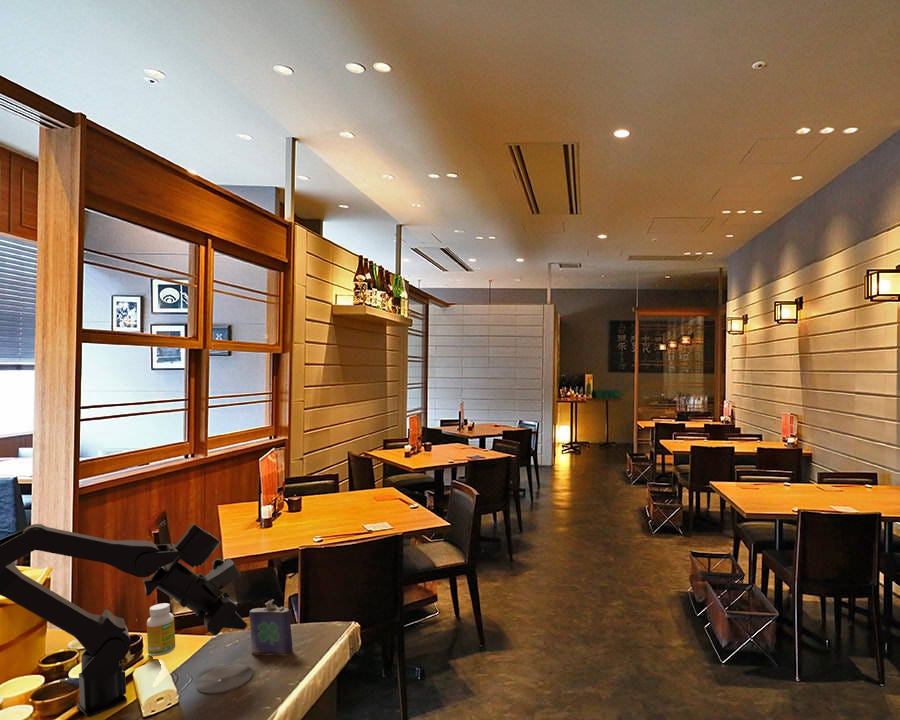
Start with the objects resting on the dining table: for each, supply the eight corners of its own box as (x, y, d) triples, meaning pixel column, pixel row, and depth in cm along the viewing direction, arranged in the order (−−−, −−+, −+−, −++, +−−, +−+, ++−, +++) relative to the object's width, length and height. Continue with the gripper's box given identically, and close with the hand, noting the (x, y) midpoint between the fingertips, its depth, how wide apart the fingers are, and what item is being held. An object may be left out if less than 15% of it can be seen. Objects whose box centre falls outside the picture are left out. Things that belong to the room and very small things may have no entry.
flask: (249, 654, 124) (246, 603, 124) (256, 648, 126) (254, 598, 127) (289, 656, 122) (286, 603, 122) (296, 649, 125) (293, 598, 125)
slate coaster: (211, 699, 106) (211, 696, 106) (187, 683, 113) (187, 680, 113) (262, 676, 113) (261, 673, 114) (236, 662, 120) (236, 659, 120)
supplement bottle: (164, 657, 125) (162, 611, 126) (142, 656, 126) (140, 611, 127) (180, 646, 131) (178, 601, 131) (159, 645, 132) (157, 601, 132)
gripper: (223, 560, 111) (284, 604, 117) (205, 542, 127) (260, 581, 133) (180, 613, 107) (246, 656, 112) (167, 587, 123) (225, 626, 128)
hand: (245, 626), depth 122 cm, fingers closed
